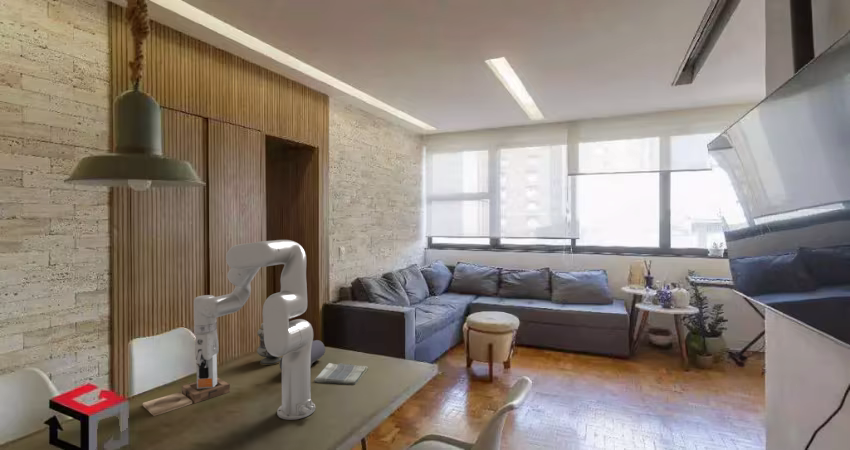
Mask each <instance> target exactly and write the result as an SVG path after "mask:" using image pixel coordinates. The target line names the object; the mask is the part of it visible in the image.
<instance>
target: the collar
mask: <svg viewBox="0 0 850 450" xmlns="http://www.w3.org/2000/svg"><path fill="white" fill-rule="evenodd" d="M230 387H231V385H230V383H228V382H226V381H224V379H221V378H219V377H218V376H217V384H216V385H215V387H212V388H202V389H197V381H194V382H191V383H188V384H183V385H181V393H182V394H183V395H185V396H186V397H187V398H189V399H190V400H191V401H192V403H194V404H196V403H199V402H203V401H206V400H209V399H213V398H216V397H218V396H222V395H224V394H228V393H230V390H231V388H230Z"/></svg>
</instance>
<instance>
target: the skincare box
mask: <svg viewBox="0 0 850 450" xmlns="http://www.w3.org/2000/svg"><path fill="white" fill-rule="evenodd" d="M217 357H218V353H217V354H215V355H214V356H212V358H211V359H210V360H208V363H207V367H208V372H209V377H208V378H205V379H200V378H199V368H198V365H197V364H196V363H195V364H196V382H197V389H202V388H206V389H209V388H212V387H215V385H216V384H217V377H218V362H217V359H218V358H217ZM202 359H204V358H202ZM196 361H197V360H196V359H195V362H196ZM202 362H204V364H205V361H202Z"/></svg>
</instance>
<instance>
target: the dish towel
mask: <svg viewBox="0 0 850 450" xmlns="http://www.w3.org/2000/svg"><path fill="white" fill-rule="evenodd" d="M368 370H369V367H368V366H367V365H356V364H352V363H351V364H348V363H346V364H345V363H340V362H339V363H338V364H336V363H331V362H328V363H327V364H326V366H325V367H324V368H323V369H322V370H321V372H319V374H318V375H317V376H316V377H315V378H314V383H317V384H334V385H335V384H336V385H347V384H348V386H349V385H352V386H355V385H356V384H357V383H359V381H360V380H361V379H362V378H363V377H364V375H365V374H366V373H367V371H368ZM359 379H360V380H359ZM358 380H359V381H358Z"/></svg>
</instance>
